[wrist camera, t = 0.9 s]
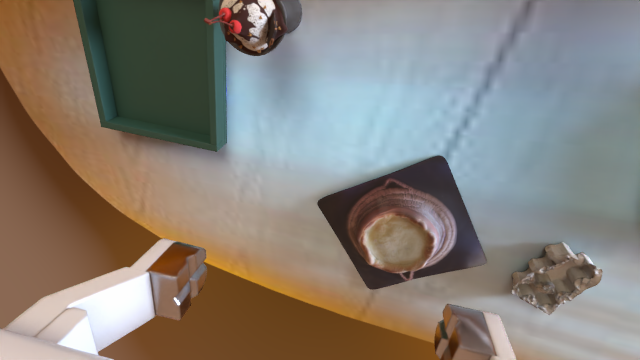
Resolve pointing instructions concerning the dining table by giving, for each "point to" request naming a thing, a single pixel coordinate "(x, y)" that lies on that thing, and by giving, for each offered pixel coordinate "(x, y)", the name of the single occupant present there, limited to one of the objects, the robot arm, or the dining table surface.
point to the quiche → (405, 225)
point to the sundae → (257, 23)
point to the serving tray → (157, 68)
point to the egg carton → (555, 278)
